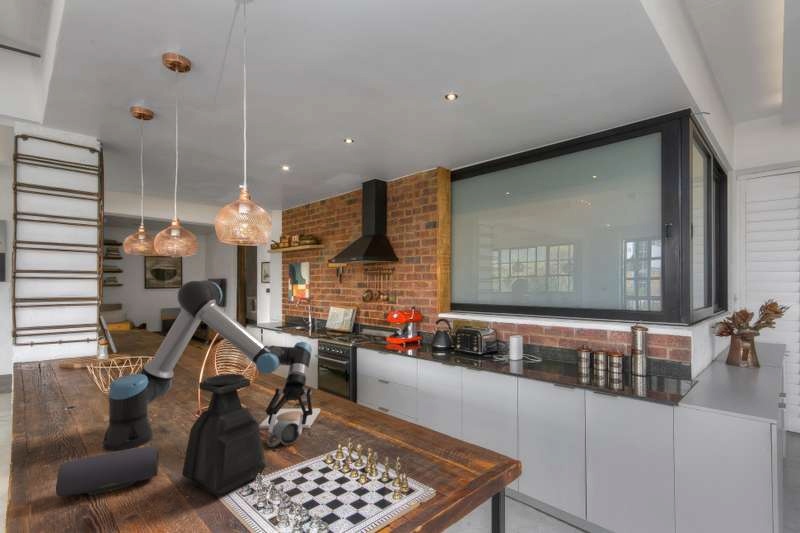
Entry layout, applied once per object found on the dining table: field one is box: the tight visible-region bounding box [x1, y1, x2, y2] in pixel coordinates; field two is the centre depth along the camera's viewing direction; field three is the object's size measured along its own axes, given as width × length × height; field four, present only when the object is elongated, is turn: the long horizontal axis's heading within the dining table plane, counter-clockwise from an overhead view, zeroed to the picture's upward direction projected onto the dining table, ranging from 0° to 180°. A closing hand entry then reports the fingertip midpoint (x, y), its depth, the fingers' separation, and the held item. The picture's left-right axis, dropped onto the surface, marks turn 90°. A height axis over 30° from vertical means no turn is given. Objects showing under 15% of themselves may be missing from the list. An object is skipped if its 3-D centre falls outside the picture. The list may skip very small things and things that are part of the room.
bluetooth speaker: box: [55, 445, 160, 497], centre depth 112 cm, size 23×9×10 cm, turn 118°
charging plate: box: [258, 398, 321, 430], centre depth 171 cm, size 32×20×2 cm, turn 179°
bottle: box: [182, 373, 267, 497], centre depth 116 cm, size 18×16×30 cm
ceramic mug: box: [266, 419, 300, 448], centre depth 142 cm, size 11×8×8 cm
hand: (284, 433), depth 141 cm, fingers closed on ceramic mug, 10 cm apart
